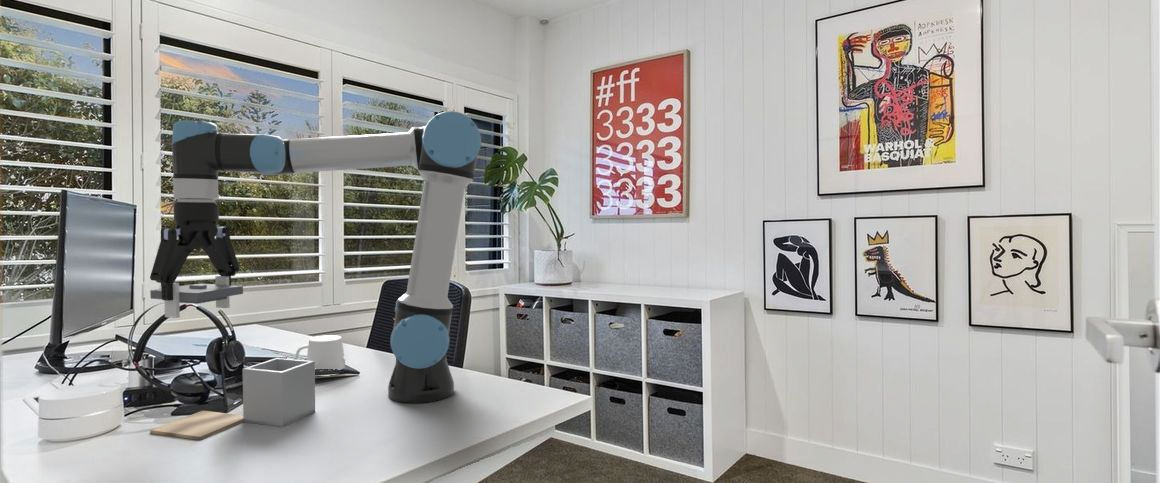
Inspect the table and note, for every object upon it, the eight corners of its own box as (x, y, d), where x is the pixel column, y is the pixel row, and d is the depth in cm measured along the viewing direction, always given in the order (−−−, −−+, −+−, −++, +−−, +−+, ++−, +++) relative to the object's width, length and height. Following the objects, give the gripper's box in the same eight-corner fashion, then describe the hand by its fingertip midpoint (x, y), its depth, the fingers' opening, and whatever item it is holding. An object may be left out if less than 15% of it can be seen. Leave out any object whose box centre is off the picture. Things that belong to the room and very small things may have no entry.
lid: (243, 297, 126) (242, 283, 126) (197, 305, 116) (196, 289, 115) (199, 295, 129) (199, 280, 129) (150, 302, 118) (150, 287, 118)
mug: (344, 333, 168) (344, 340, 161) (345, 367, 169) (345, 375, 162) (296, 336, 164) (294, 343, 157) (297, 371, 165) (294, 379, 157)
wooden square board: (249, 418, 128) (249, 416, 128) (200, 439, 116) (200, 436, 116) (202, 413, 131) (202, 410, 131) (150, 433, 120) (150, 430, 119)
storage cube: (315, 411, 133) (314, 361, 132) (283, 426, 124) (282, 372, 123) (277, 407, 135) (277, 357, 135) (243, 421, 126) (242, 368, 126)
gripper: (228, 201, 133) (230, 302, 135) (123, 200, 111) (126, 321, 112) (257, 202, 132) (259, 304, 133) (156, 200, 109) (159, 323, 110)
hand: (198, 312), depth 122 cm, fingers closed on lid, 11 cm apart
